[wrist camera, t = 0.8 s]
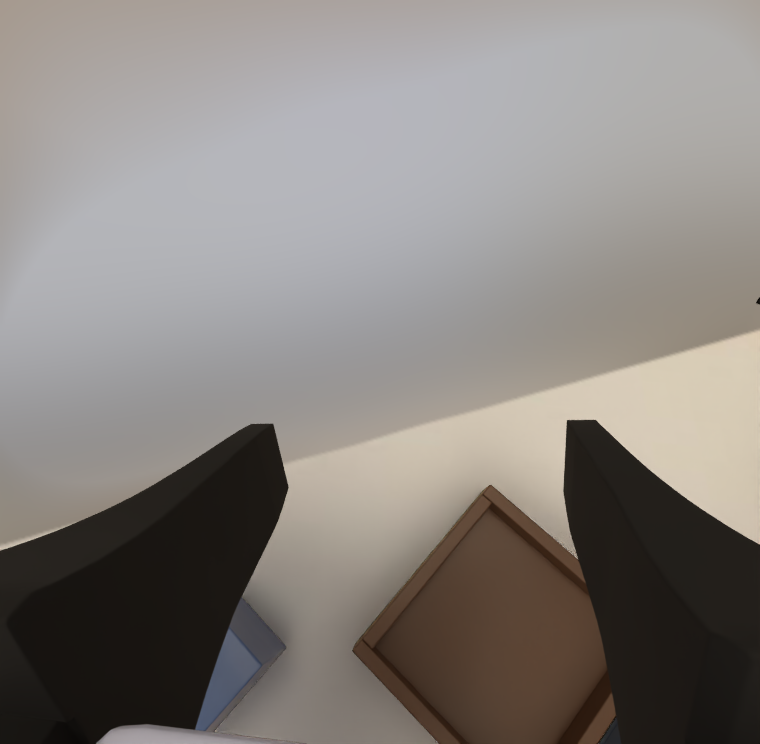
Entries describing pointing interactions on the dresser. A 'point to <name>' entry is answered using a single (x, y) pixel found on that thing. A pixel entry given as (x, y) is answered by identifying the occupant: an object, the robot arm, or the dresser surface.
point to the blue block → (238, 665)
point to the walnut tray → (495, 637)
